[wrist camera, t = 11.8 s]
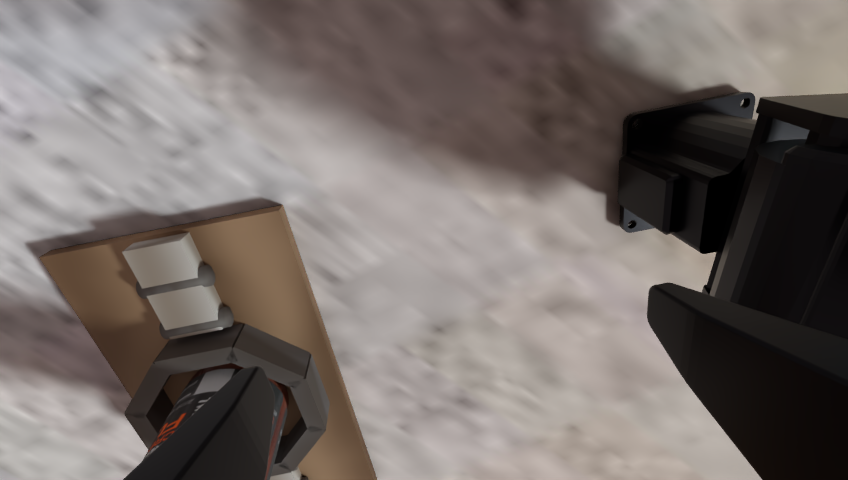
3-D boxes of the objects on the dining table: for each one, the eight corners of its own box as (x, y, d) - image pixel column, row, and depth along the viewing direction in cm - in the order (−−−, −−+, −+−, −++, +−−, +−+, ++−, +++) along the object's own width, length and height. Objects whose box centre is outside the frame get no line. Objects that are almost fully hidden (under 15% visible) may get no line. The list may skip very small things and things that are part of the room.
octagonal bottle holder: (282, 204, 21) (269, 226, 19) (376, 478, 31) (376, 517, 28) (50, 250, 21) (5, 277, 18) (217, 510, 30) (202, 553, 28)
